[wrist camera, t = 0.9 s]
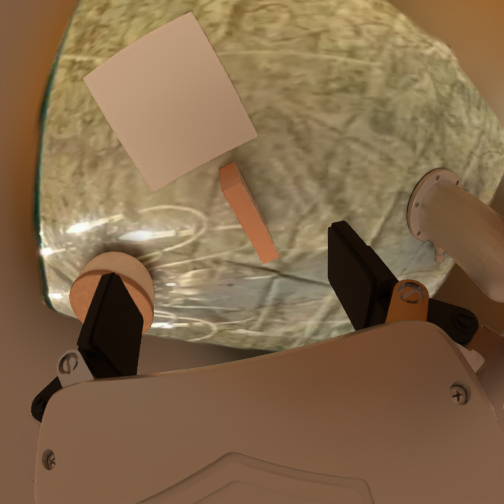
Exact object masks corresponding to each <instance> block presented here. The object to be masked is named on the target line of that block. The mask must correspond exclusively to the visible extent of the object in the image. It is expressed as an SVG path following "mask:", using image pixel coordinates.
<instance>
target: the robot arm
mask: <svg viewBox="0 0 504 504" xmlns="http://www.w3.org/2000/svg"><path fill="white" fill-rule="evenodd" d="M407 221H408V226H409V229H410V231H411V232H412V234H413V235H414V236H415V237H416V238H417V239H419V240H421V241H431V242H432V243H433V244H434V248H435V261H436V262H438V263H441V262H443V261H444V256H445V252H446V253H447V254H448V255H449V256H450V257H451V258H452V259H453V260H454V261H455V262H456V263H457V264H458V265H459V266H460V267H461V268H462V269H463V270H464V271H465V272H466V273H467V274H468V275H469V276H470V277H471V279H472V280H473V281H474V282H475V283H476V284H477V285H478V286H479V287H480V288H481V290H483V292H484V293H485V294H486V295H487V296H488V297H489V298H491V299H492V300H494V301H497V302H504V218H503V217H502V216H501V215H499V214H498V213H497V212H495V211H494V210H493V209H491V208H490V207H489V206H487V205H486V204H484V203H483V202H481V201H480V200H479V199H477V198H476V197H474V196H473V195H471V194H470V193H468V192H467V191H465V190H463V189H462V185H461V182H460V180H459V178H458V177H457V175H456V174H455V173H453V172H452V171H450V170H448V169H443V168H441V169H436V170H433V171H431V172H430V173H428V174H427V175H426V176H425V177H424V178H423V179H422V180H421V181H420V182H419V184H418V185H417V187H416V188H415V190H414V192H413V194H412V197H411V199H410V202H409V206H408V212H407ZM328 279H329V282H330V284H331V286H332V288H333V290H334V291H335V293H336V295H337V297H338V299H339V301H340V302H341V304H342V306H343V308H344V310H345V312H346V314H347V315H348V317H349V319H350V321H351V323H352V325H353V327H354V329H355V331H354V332H351V333H347V334H344V335H341V336H337V337H334V338H330V339H326V340H323V341H319V342H315V343H312V344H308V345H304V346H301V347H297V348H293V349H289V350H285V351H280V352H276V353H272V354H267V355H263V356H258V357H254V358H249V359H244V360H239V361H234V362H229V363H223V364H217V365H212V366H206V367H199V368H193V369H186V370H179V371H172V372H164V373H155V374H145V375H137V366H138V358H139V351H140V344H141V337H142V331H143V324H144V319H143V316H142V314H141V312H140V311H139V309H138V307H137V306H136V304H135V302H134V300H133V299H132V297H131V295H130V294H129V292H128V290H127V288H126V286H125V285H124V283H123V281H122V279H121V277H120V276H119V275H116V274H115V273H114V272H112V273H108V274H104V275H102V276H101V278H100V281H99V283H98V286H97V288H96V291H95V293H94V296H93V298H92V301H91V304H90V306H89V309H88V312H87V315H86V317H85V320H84V323H83V326H82V329H81V332H80V335H79V338H78V342H77V345H78V346H79V348H78V351H77V350H69V351H67V352H65V353H64V354H63V355H62V356H61V357H60V358H59V360H58V362H57V365H56V372H57V375H58V376H57V377H56V378H55V379H54V380H53V381H52V382H51V383H50V384H49V385H48V386H47V387H45V388H44V389H43V390H42V391H41V392H40V393H39V394H38V395H37V396H36V397H35V399H34V400H33V403H32V406H31V412H32V417H30V416H29V417H28V418H27V420H26V422H25V424H24V425H23V427H22V429H21V430H20V432H19V434H18V436H17V437H16V439H15V441H14V443H13V449H12V450H13V455H14V457H15V459H16V460H17V461H18V463H19V464H20V465H21V467H22V468H23V469H24V471H25V472H26V473H27V474H28V476H29V477H30V478H31V479H32V481H33V482H34V483H35V504H504V434H503V431H502V428H501V426H500V423H499V421H498V417H499V414H500V412H501V409H502V408H503V409H504V332H503V333H502V335H499V334H498V333H496V332H495V331H493V330H491V329H490V328H488V327H487V326H485V325H483V326H482V327H481V326H479V325H478V320H477V318H476V316H475V315H474V314H473V313H472V312H471V311H469V310H467V309H465V308H462V307H458V306H455V305H452V304H448V303H445V302H442V301H438V300H434V299H431V298H429V293H428V290H427V288H426V287H425V286H424V285H423V284H421V283H420V282H418V281H415V280H410V279H406V280H402V281H398V280H397V278H396V277H395V276H394V275H393V273H392V272H391V271H390V270H389V268H388V267H387V266H386V265H385V263H384V262H383V261H382V260H381V259H380V257H379V256H378V255H377V254H376V253H375V252H374V250H373V249H372V248H371V247H370V246H368V245H366V244H365V242H364V241H363V240H362V239H361V238H360V237H359V236H358V234H357V233H356V232H355V231H354V230H353V229H352V228H351V226H350V225H349V224H348V223H347V222H346V221H344V220H343V221H339V222H334V223H332V225H331V227H328Z"/></svg>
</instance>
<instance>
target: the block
mask: <svg viewBox="0 0 504 504" xmlns="http://www.w3.org/2000/svg"><path fill="white" fill-rule="evenodd" d="M219 173H220V180H221V187H222V192H223V194H224V196H225V197H226V199H227V201H228V203H229V204H230V206H231V208H232V210H233V211H234V213H235V215H236V217H237V219H238V220H239V222H240V224H241V226H242V227H243V229H244V231H245V233H246V234H247V236H248V238H249V240H250V241H251V243H252V245H253V247H254V248H255V250H256V252H257V254H258V255H259V257H260V259H261V261H262V263H263V264H265V263H267V262H269V261H271V260H273V259H275V258H277V257H279V255H278V251H277V249H276V246H275V244H274V242H273V239H272V237H271V234H270V232H269V229H268V227H267V225H266V222H265V220H264V218H263V216H262V215H261V213H260V211H259V209H258V207H257V205H256V203H255V201H254V199H253V197H252V195H251V193H250V191H249V189H248V187H247V185H246V183H245V181H244V180H243V178H242V176H241V174H240V172H239V170H238V168H237V166H236V164H235V163H234V162H232V163H230V164H228V165H226V166H224V167H222V168H220V169H219Z"/></svg>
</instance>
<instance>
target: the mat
mask: <svg viewBox="0 0 504 504" xmlns="http://www.w3.org/2000/svg"><path fill="white" fill-rule="evenodd" d="M83 79H84V81H85V83H86V85H87V87H88V88H89V90H90V92H91V94H92V95H93V97H94V99H95V100H96V102H97V104H98V106H99V107H100V109H101V111H102V112H103V114H104V116H105V117H106V119H107V121H108V122H109V124H110V126H111V127H112V129H113V131H114V132H115V134H116V135H117V137H118V139H119V140H120V142H121V143H122V145H123V147H124V148H125V150H126V151H127V153H128V155H129V156H130V158H131V159H132V161H133V162H134V164H135V165H136V167H137V169H138V170H139V172H140V173H141V175H142V176H143V178H144V179H145V181H146V182H147V184H148V185H149V187H150V188H151V190H152V191H153V192H155V191H157V190H158V189H160V188H162V187H163V186H165V185H167V184H168V183H170V182H172V181H173V180H175V179H177V178H179V177H180V176H182V175H184V174H186V173H188V172H189V171H191V170H193V169H195V168H197V167H199V166H200V165H202V164H204V163H206V162H208V161H210V160H212V159H214V158H216V157H217V156H219V155H221V154H223V153H225V152H227V151H229V150H231V149H233V148H235V147H237V146H239V145H242V144H244V143H246V142H248V141H250V140H252V139H254V138H256V137H259V136H258V134H257V132H256V130H255V128H254V126H253V124H252V122H251V120H250V118H249V116H248V114H247V112H246V110H245V108H244V106H243V104H242V102H241V100H240V98H239V96H238V94H237V92H236V90H235V88H234V86H233V85H232V83H231V81H230V79H229V77H228V75H227V73H226V71H225V70H224V68H223V66H222V64H221V62H220V60H219V59H218V57H217V55H216V53H215V51H214V50H213V48H212V46H211V44H210V42H209V41H208V39H207V37H206V36H205V34H204V32H203V30H202V29H201V27H200V25H199V24H198V22H197V20H196V19H195V17H194V15H193V14H192V12H189V13H187V14H185V15H183V16H181V17H179V18H177V19H175V20H173V21H171V22H169V23H167V24H165V25H163V26H161V27H159V28H157V29H155V30H154V31H152V32H150V33H148V34H147V35H145V36H143V37H141V38H140V39H138V40H137V41H135V42H133V43H132V44H130V45H129V46H127V47H125V48H124V49H122V50H121V51H119V52H118V53H116V54H115V55H114V56H112V57H111V58H109V59H108V60H106V61H105V62H104V63H102V64H101V65H100V66H98V67H97V68H96V69H94V70H93V71H92V72H91V73H89V74H88V75H87V76H86V77H84V78H83Z"/></svg>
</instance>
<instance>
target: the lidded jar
mask: <svg viewBox="0 0 504 504" xmlns="http://www.w3.org/2000/svg"><path fill="white" fill-rule="evenodd" d="M112 272H114V273H115V274H116V275H119V276H120V277H121V279H122V281H123V283H124V285H125V286H126V288H127V290H128V292H129V294H130V295H131V297H132V299H133V300H134V302H135V304H136V306H137V307H138V309H139V311H140V312H141V314H142V316H143V319H144V324H143V331H142V334H144V333H145V332H147V331H148V330H149V328H150V327H151V325H152V322H153V316H154V302H155V295H154V286H153V281H152V279H151V276H150V274H149V272H148V271H147V269H146V268H145V266H144V265H143V264H142V263H141V262H140V261H139V260H137V259H136V258H134V257H133V256H131V255H129V254H126V253H122V252H106V253H103V254H100V255H98V256H96V257H95V258H93V259H92V260H91V261H90V262H88V263H87V264H86V265H85V267H84V268H83V269H82V271H81V272H80V274H79V276H78V277H77V279H76V280H75V282H74V283H73V285H72V287H71V290H70V296H69V298H70V304H71V307H72V309H73V311H74V313H75V315H76V316H77V318H78V319H79V320H80V321H81V322H82V323H84V320H85V317H86V315H87V312H88V309H89V306H90V304H91V301H92V298H93V296H94V293H95V291H96V288H97V286H98V283H99V281H100V278H101V276H102V275H104V274H108V273H112Z"/></svg>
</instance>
